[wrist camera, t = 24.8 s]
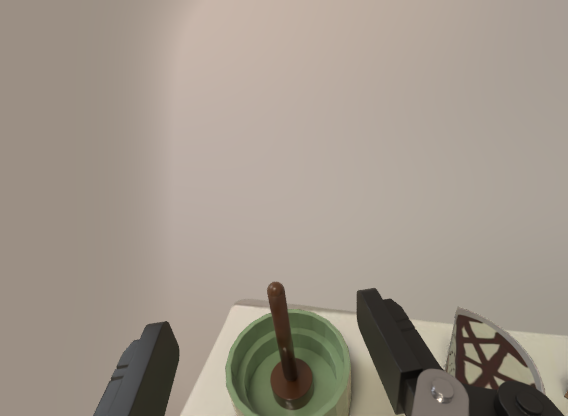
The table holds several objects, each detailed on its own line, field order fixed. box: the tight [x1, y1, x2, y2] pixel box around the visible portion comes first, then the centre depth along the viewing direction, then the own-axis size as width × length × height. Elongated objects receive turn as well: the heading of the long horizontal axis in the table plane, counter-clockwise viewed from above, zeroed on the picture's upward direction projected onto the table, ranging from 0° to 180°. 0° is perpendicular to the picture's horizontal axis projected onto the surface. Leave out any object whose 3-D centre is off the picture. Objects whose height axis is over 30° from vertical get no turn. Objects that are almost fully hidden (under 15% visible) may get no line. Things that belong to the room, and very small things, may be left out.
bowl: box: [225, 309, 351, 416], centre depth 30 cm, size 13×13×6 cm
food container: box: [445, 307, 546, 396], centre depth 24 cm, size 12×6×10 cm, turn 149°
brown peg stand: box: [267, 282, 314, 410], centre depth 28 cm, size 5×5×16 cm
